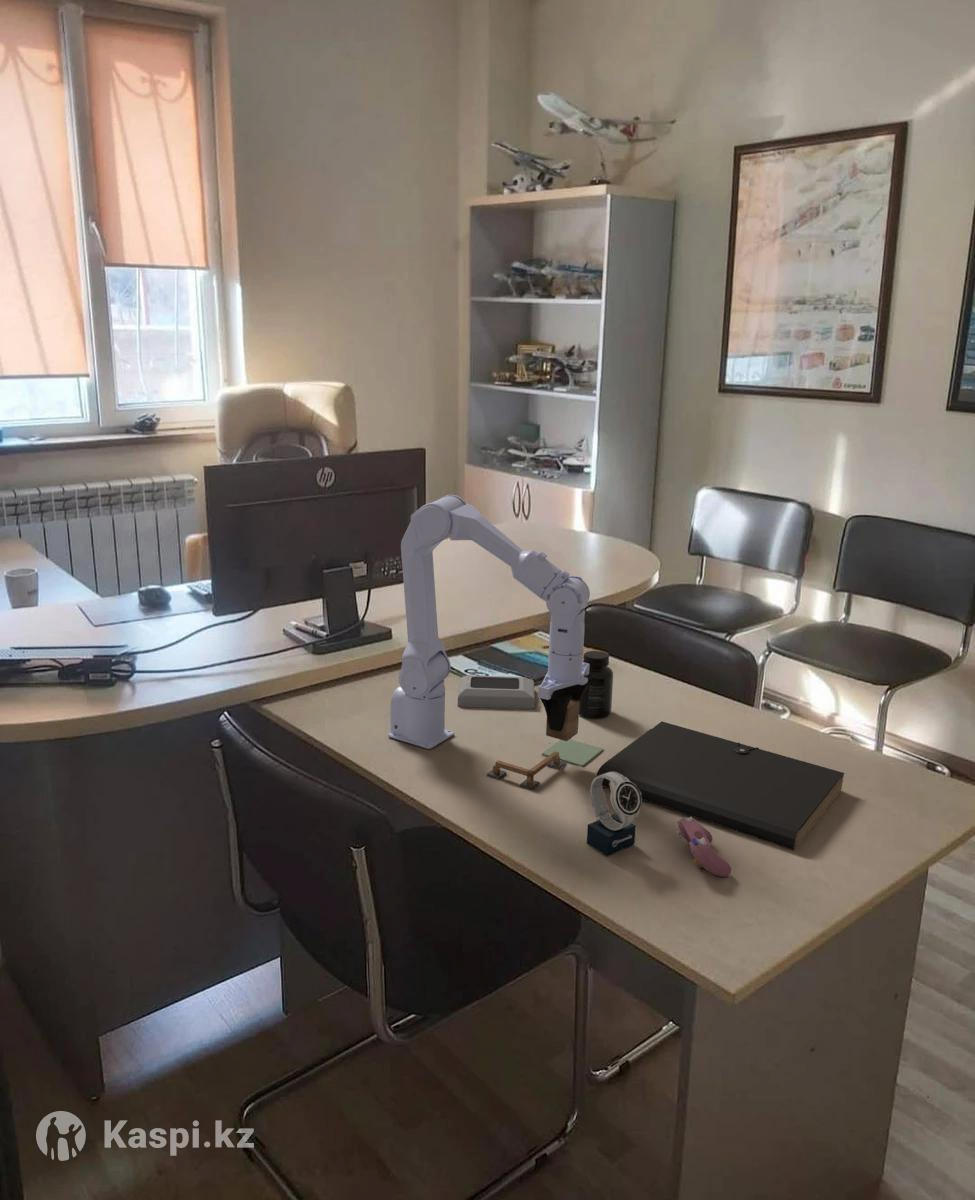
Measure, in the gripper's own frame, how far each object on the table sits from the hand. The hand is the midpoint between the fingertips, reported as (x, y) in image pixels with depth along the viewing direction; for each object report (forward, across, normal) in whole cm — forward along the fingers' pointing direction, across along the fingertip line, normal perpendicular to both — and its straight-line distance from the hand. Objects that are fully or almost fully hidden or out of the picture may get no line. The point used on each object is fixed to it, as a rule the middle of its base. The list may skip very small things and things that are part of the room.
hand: (562, 725), depth 167 cm
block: (+2, 0, 0) cm, 2 cm away
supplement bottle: (+7, +23, +5) cm, 24 cm away
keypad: (+8, +18, +24) cm, 31 cm away
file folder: (+8, +7, -26) cm, 28 cm away
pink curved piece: (+7, -16, -32) cm, 36 cm away
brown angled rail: (+7, -6, +3) cm, 10 cm away
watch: (+7, -19, -19) cm, 28 cm away
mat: (+7, +5, 0) cm, 8 cm away
